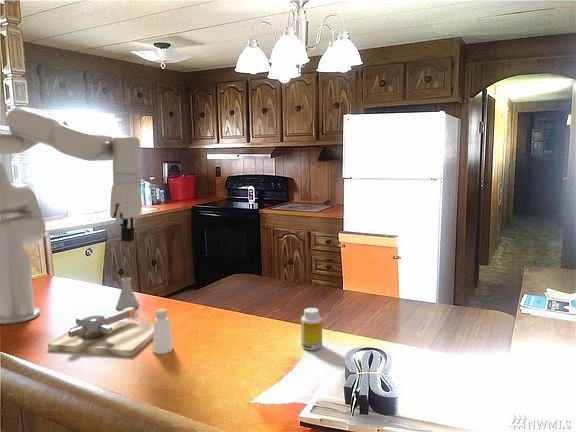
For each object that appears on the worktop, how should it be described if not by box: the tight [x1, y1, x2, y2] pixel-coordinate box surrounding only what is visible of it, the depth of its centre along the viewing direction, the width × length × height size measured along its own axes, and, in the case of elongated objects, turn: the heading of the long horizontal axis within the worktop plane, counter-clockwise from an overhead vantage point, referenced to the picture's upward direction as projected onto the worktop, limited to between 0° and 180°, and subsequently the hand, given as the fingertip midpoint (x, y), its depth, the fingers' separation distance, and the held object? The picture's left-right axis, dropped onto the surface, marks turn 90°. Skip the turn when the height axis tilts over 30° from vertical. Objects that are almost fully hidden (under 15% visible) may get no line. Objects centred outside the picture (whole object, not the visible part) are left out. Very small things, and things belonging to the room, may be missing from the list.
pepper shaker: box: [152, 308, 174, 355], centre depth 118 cm, size 5×5×11 cm
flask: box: [115, 277, 140, 311], centre depth 150 cm, size 7×7×10 cm
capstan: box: [67, 307, 136, 339], centre depth 126 cm, size 20×14×4 cm
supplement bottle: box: [300, 307, 323, 351], centre depth 120 cm, size 6×6×10 cm
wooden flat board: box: [47, 320, 154, 357], centre depth 125 cm, size 24×18×3 cm
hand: (127, 240), depth 132 cm, fingers closed
